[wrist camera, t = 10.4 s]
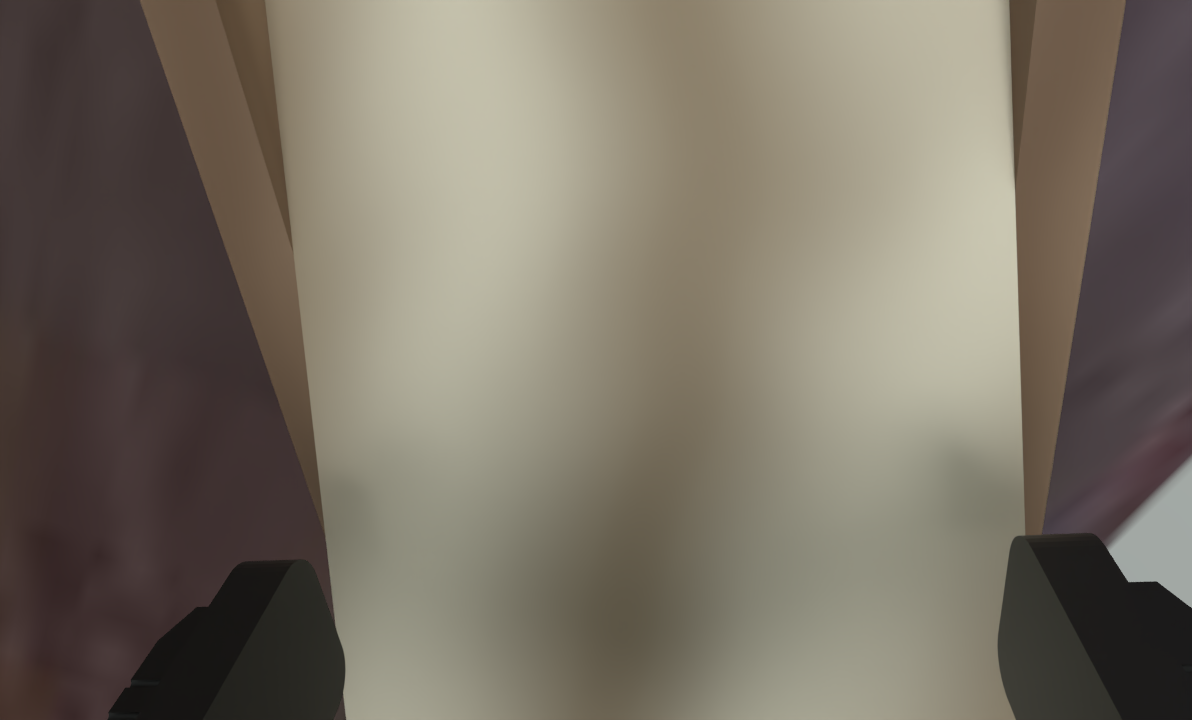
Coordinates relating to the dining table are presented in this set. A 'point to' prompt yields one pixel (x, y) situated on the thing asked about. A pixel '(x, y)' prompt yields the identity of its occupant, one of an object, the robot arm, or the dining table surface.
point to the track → (659, 333)
